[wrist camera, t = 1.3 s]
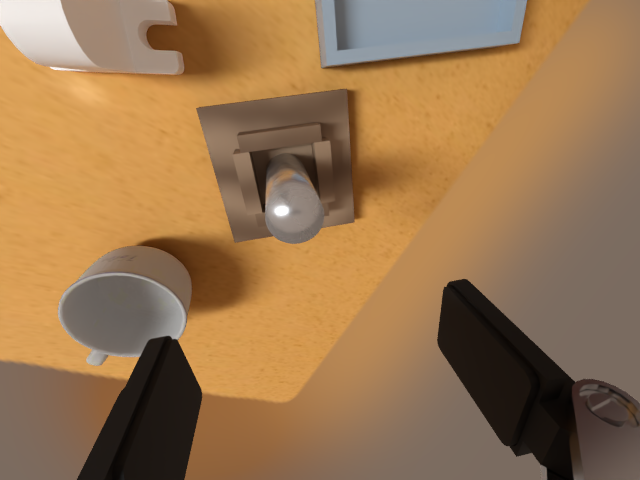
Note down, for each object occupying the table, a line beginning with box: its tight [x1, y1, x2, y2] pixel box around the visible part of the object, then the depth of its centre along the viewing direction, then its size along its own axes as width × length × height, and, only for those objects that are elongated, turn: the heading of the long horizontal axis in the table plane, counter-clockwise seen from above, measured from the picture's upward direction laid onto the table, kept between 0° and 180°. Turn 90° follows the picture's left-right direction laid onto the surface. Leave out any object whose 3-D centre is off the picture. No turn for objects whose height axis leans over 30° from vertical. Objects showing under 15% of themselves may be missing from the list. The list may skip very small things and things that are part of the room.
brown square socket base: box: [196, 89, 354, 243], centre depth 29 cm, size 14×14×4 cm
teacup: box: [58, 246, 192, 366], centre depth 31 cm, size 14×11×8 cm
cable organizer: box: [0, 0, 184, 75], centre depth 20 cm, size 5×10×10 cm, turn 88°
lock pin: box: [265, 153, 324, 244], centre depth 25 cm, size 4×4×12 cm
